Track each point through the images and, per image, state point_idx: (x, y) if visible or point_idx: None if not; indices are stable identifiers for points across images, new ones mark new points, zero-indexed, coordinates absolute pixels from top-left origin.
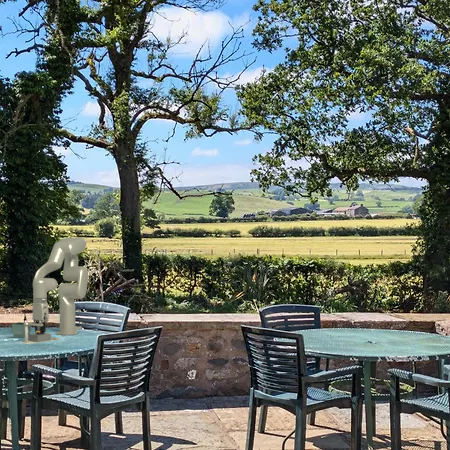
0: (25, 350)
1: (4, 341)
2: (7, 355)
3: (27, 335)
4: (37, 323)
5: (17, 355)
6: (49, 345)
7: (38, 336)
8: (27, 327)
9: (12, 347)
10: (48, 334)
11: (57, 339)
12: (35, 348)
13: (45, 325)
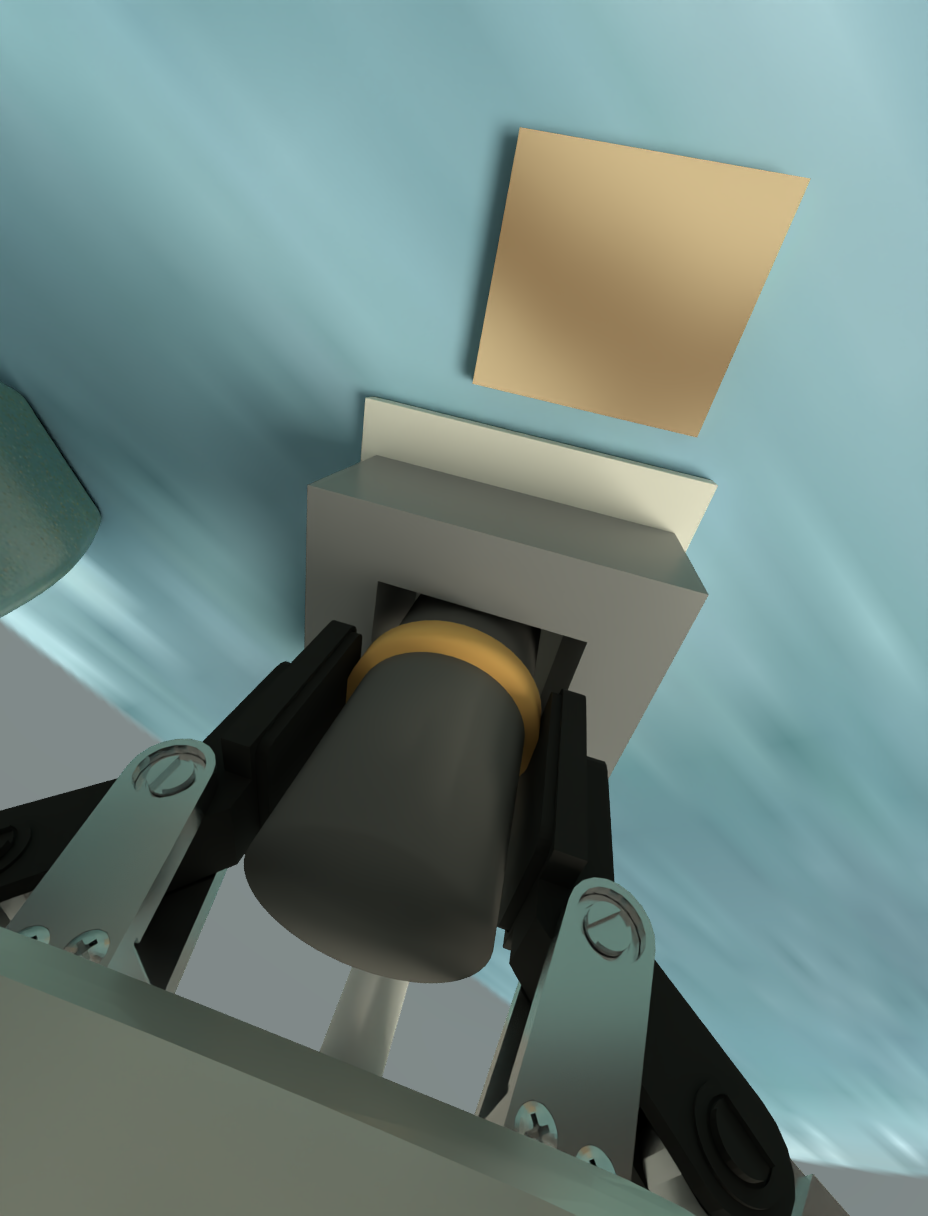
0: (731, 1038)
1: (138, 723)
2: None
3: None
4: (257, 895)
5: (800, 1156)
6: (864, 820)
7: None
8: (388, 1049)
9: (496, 944)
10: (669, 653)
11: (742, 329)
12: (775, 974)
13: (619, 899)
